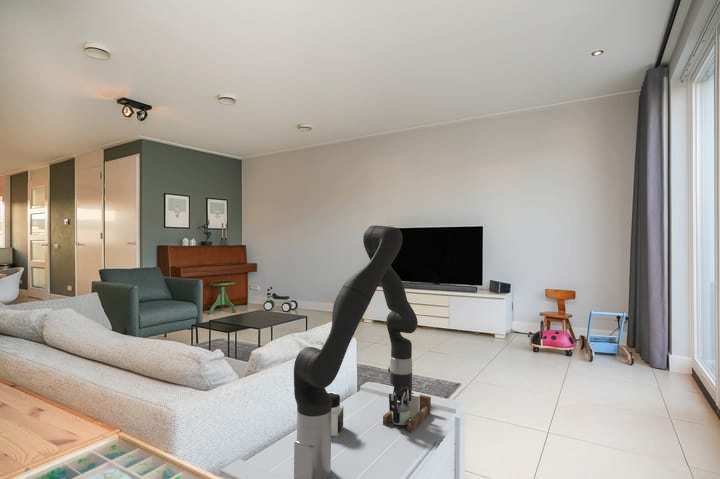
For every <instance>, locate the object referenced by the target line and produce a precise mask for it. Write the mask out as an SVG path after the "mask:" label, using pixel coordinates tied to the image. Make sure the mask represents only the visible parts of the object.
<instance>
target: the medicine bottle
mask: <svg viewBox="0 0 720 479" xmlns="http://www.w3.org/2000/svg"><path fill="white" fill-rule="evenodd" d="M327 393H328V394H329V396H330V397H331V401H332V414H331V437H337V438H339V435H340V434H341V432H342V430H343V428H344V406H343V405H341V395H340V394H338V393H337V392H334V391H332V392H331V391H328V392H327Z"/></svg>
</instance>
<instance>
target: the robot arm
mask: <svg viewBox="0 0 720 479" xmlns="http://www.w3.org/2000/svg"><path fill="white" fill-rule="evenodd" d="M362 238H363V239H362V240H363V246H364V249H365V252H366V254H367V257H368V258H369V260H370V261H368V263H366V265H364V266H363V267H362V268H360V269H359V270H358V271H356V272H355V273H354V274H353V275H351V276H350V277H349V278H348V279H346V281H345V282H344V284H343V285H342V287H341V288H340V290H339V292H338V293H337V296H336V297H335V300H334V302H333V308H332V316H331V317H332V318H331V328H330V332H329V334H328V336H327V338H326V340H325V341H324V344H323V345H322V348H321V349H320V348H317V347H313V346H307V347H305V348H303V349H301V350H300V351H299V353H298V354H297V356H296V358H295V360H294V366H293V386H294V387H293V391H294V392H293V394H294V399H295V402H296V405H297V406H296V408H297V409H296V410H297V411H296V415H297V416H296V440H295V441H294V443H293V444H294V445H293V446H294V447H293V453H294V454H293V456H294V457H293V461H294V462H293V478H294V479H328V478H329V477H330V476H331V472H332V470H331V469H332V468H331V464H332V463H331V462H332V457H331V456H332V436H331V414H332V401H331V397H330V396H329V394H328V392H327V390H326V388H328V387H329V386H330V385H331V384H332V383H333V381H335V379H336V377H337V375H338V373H339V371H340V369H341V366H342V363H343V361H344V359H345V356H346V353H347V351H348V349H349V345H350V343H351V341H352V339H353V338H354V335H355V332H356V330H357V329H358V327H359V324H360V322H361V320H362V319H363V317H364V315H365V313H366V311H367V310H368V308H369V305H370V303H371V302H372V299H373V297H374V294H375V293H376V291H377V289H378V287H379V285H381V289H382V292H383V295H384V300H385V303H386V307H387V308H388V310H390V312H389V313H388V314H387V316H386V328H387V332H388V336H389V340H390V345H391V348H390V361H389V362H390V364H389V365H390V375H389V383H390V385H392V386H393V391H392V393H389V394H388V407H389V411H391V412H393V422H394V423H397V424H398V423H399V422H400V408H401V406H402V405H403V403H405V404H408V405H409V401H411V396H412V393H413V357H412V356H413V355H412V350H413V345H412V341H411V340H410V339H408V338H406V337H404V336H403V335H402V333H403V334H413V333H414V332H416V330H417V328H418V325H419V324H418V323H419V322H418V318H417V315H416V313H415V310H414V308H413V307H412V306H411V304H410V302H409V301H408V298H407V294H406V293H407V292H406V290H405V286H404V283H403V281H402V280H401V278H400V276H399V275H398V274H397V272H396V271H395V270H394V269H393V267H392V263H393V262H394V260H395V259H396V257H397V256H398V254H399V251H400V250H401V247H402V245H403V233H402V231H401V230H400V229H399V228H397V227H394V226H385V225H370V226H369V227H367V228H366V230H364V233H363V237H362ZM392 405H393V406H392ZM397 405H398V407H397ZM393 422H392V423H393ZM394 423H393V424H394ZM397 424H396V425H397Z"/></svg>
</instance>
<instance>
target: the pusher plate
mask: <svg viewBox="0 0 720 479" xmlns="http://www.w3.org/2000/svg"><path fill="white" fill-rule="evenodd" d="M409 406H410V414H409V418H410V419H412V418H413V417H414V416H415V415H416V414H417V413H419V412H420V395H418V394H412V396H411V401H409Z"/></svg>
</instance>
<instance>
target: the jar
mask: <svg viewBox="0 0 720 479" xmlns="http://www.w3.org/2000/svg"><path fill="white" fill-rule="evenodd" d="M392 406H393V405H392ZM397 407H398V405H397ZM409 414H410V406H409V405H408V404H405V403H403V405H402V406H401V408H400V422H399V423H398V424H397V423H394V422H393V412H392V421H391V423H393V424H395V425H398V426H406V425H408V422H409V421H410V417H409Z"/></svg>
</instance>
